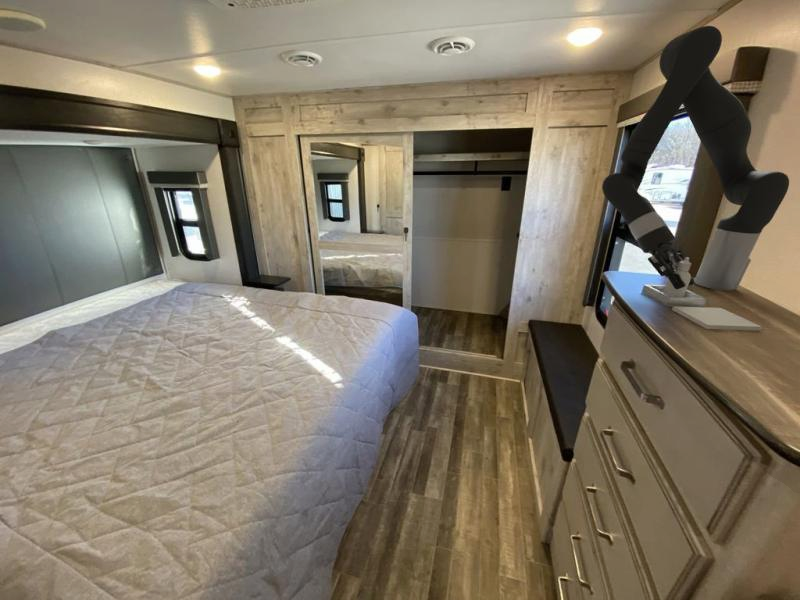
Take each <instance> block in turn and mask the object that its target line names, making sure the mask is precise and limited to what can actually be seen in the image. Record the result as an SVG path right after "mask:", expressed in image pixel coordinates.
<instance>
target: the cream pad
mask: <svg viewBox="0 0 800 600" xmlns="http://www.w3.org/2000/svg"><path fill="white" fill-rule="evenodd" d="M671 310H672V311H673V312H675V313H676V314H679V315H680V316H682V317H684V318H686V319H687V320H689V321H691V322H693V323H694V324H696V325H699V326H700V327H702V328H703V329H706V330H729V331H730V330H731V331H732V330H734V331H755V332H756V331H758V332H759V331H761V329H762V326H761V325H759V324H756V323H754V322H752V321H750V320H748V319H746V318H743V317H741V316H739V315H738V314H735V313H732V312H730V311H728V310H726V309H724V308H722V307H705V306H704V307H676V306H673V307H672V309H671Z"/></svg>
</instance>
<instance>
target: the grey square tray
mask: <svg viewBox="0 0 800 600" xmlns="http://www.w3.org/2000/svg"><path fill="white" fill-rule="evenodd" d="M665 285H666V284H664V285H663V284H643V287H642V289H641V292H642V293H641V294H643V293H644V294H643V295H645V296H647V297H649V298H651V299H653V300H654V301H655V302H658V303H660V304H661V305H663V306H665V307H672V308H673V306H676V307H705V305H706V302H707V301H708V298H706V297H704V296H701V295H700V294H698V293H695V292H693V291H690V290H689V289H687V290H686V292H685V295H684V297H670V296H668V295H666V294H665V293H663V290H664V287H665Z"/></svg>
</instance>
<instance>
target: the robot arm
mask: <svg viewBox="0 0 800 600" xmlns="http://www.w3.org/2000/svg"><path fill="white" fill-rule="evenodd" d="M722 42H723V35H722V32H721V31H720V29H719V28H717V27H716V26H713V25H705V26H700V27H697V28H694V29H692V30H690V31H687V32H685V33H683V34H680V35H678V36H676V37H674V38H673V39H671V40H670V41H669V42H668V43H667V44H666V45H665V46H664V48H663V50H662V51H661V54H660V56H659V65H658V66H659V69H660V72H661V74H662V76H663V78H664V79H665V80H666V81H665V83H664V85H663V87H662V89H661V91H660V93H659V94H658V96H657V98H656V99H655V100H654V102H653V103H652V105H651V107H650V108H649V109H648V110H647V112H646V113H645V114H644V115H643V117H642V118H641V119H640V121H639V122H638V124H636V126H635V128H634V130H633V132H632V134H630V137H629V139H628V142H627V143H626V145H625V147H624V148H623V151H622V153H621V155H620V160H621V162H622V165H621V168H620V171H618V172H614V173H611V174H609V175H608V176H606V177H605V178H604V180H603V181H602V185H601V188H602V189H601V190H602V193H603V195H604V197H605V198H606V200H607V201H608V202H609V203H610V204H611V206H613V207H614V208H615V209H616V210H617V211H618V212H619V213H620V215H621V217H622V218H623V220H624V221H625V223H626V224H627V226H628V228H629V231H630V232H631V234H632V236H633V237H634V240H635V241H636V242H637V244H638V246H639V247H640V249H641V250H642V252H643V253H644V254H650V253H651V256H649V257H647V260H648V261H649V264H650V265H652V267H653V268H654V269H655V271H656V272H657V273H658V274H659V275H660V276H661V277H665V278H667V280H668V279H669V280H670V282H671V283H672V285H673V286H674V288H675V289H680V288H683V287H685V286H686V285H685V283H684V282H683V281H682V279H681V277H680V275H679V274H677V267H678V264H679V262H681V261H684V259H685V258H686V255H685V254H684V252H683V250H682V248H679V249H676V248H674V247H673V246H672V244H671V243H674V242H675V241H676V236H675V235H674V234H673V232H672V231H671V229H670V228H669V226H668V225H667V223H666V222H665V220H664V219H663V218H662V217H661V215H660V214H659V213H658V212H657V210H656V209H655V208H654V205H652V203H651V201H649V199H648V198H647V197H645V196H643V195H641V194H640V193H639V191H638V189H639V187H640V186H641V184H642V182H643V179H644V176H645V174H646V170H647V168H648V163H649V161H650V159H651V158H652V155H653V154H654V152H655V151H656V149H657V147H658V145H659V143H660V142H661V139H662V138H663V136H664V134H665V132H666V131H667V129H668V127H669V125H670V124H671V122H672V121H673V119H674V117H675V116H676V115H677V114H678V111H679V110H680V109H681V106H682V105H683V107H684V110H685V112H686V114H687V116H688V119H689V120H690V122H691V124H692V127H693V128H694V130H695V133H696V134H697V136H698V139H699V140H700V142H701V144H702V146H703V147H704V149H705V151H706V153H707V155H708V157H709V159H710V162H711V163H712V165H713V167H714V169H715V171H716V174H717V177H718V180H719V183H720V187H721V190H722V192H723V195H724V197H725V199H727V201H728V203H729V202H730V203H731V204H733V205H738V206H740V207H739V209H738V210H737V212H736V213H734V214H733V215H731V216H728V217H724V218H721V219H720V220H719V222H718V223H717V226H716V229H715V231H714V233H713V236H712V238H711V241H710V243H709V244H708V247H707V250H706V252H705V254H704V257H703V258H702V261H701V264H700V266H699V269H698V271H697V273H696V276H695V277H694V279H693V277H692V276H691V280H690V282H689V285H688V287H689V286H692V285H695V284H696V285H697V286H701V287H704V288H708V289H712V290H716V291H723V292H724V291H726V292H727V291H728V292H729V291H734V290H737V289H738V288H739V286H740V284H741V282H742V279H743V278H744V276H745V273H746V272H747V269H748V267H749V265H750V264H751V261H752V260H751V258H750V256H751V253H752V252H753V250H754V248H755V245H756V244H757V241H758V239H759V237H760V235H761V233H762V232H763V230H764V228H765V227H766V226H767V225H768V224H770V222H771V221H772V220H773V218H774V216H775V214H776V213H777V211H778V209H779V208H780V205H781V204H782V202H783V200H784V199H785V197H786V195H787V192H788V190H789V187H790V179H789V176H788V175H787V174H785V173H784V172H783V171H782V172H781V171H774V170H773V171H771V170H769V171H768V170H765V171H764V170H757V169H756V168H755V167H754V166H753V164H752V163H751V161H750V158H749V156H748V152H747V151H748V150H747V148H748V145H749V140H750V138H751V135H752V123H751V120H750V117H749V116H748V113H747V110H746V108H745V106H744V105H743V103H742V102H741V100H740V99H739V98H738V97H737V96H736V95H735V94H734V93H732V92H731V91H730V90H729V89H728V88H726V87H725V86H724V85H723V84H721V82H719V80H717V79H716V77H715V76H714V75H713V73H712V71H711V68H710V66H711V64H712V63H713V61H714V60H715V58H716V57H717V55H718V53H719V52H720V49H721V47H722Z"/></svg>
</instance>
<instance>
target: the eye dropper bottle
mask: <svg viewBox="0 0 800 600" xmlns="http://www.w3.org/2000/svg"><path fill="white" fill-rule="evenodd" d="M685 257H686V256H685ZM691 267H692V262H690V257H686V258H685V259H684V261H681V262H679V264H678V267H677V274H679V275H680V277H681V279H682V281H683V282H684V283H685V285H686V286H685V287H683V288H680V289H675V288H674V286H673V285H672V283H671V282H670V280H669V279H668V278H667V280H666V282H665V284H664V285H665V287H664V290H663V293H665V294H666V295H668V296H670V297H684V295H685V292H686V290H688V287H689V286H688V285H689V282H690V280H691V277H692V276H691V274H690V272H689V271H690V268H691Z"/></svg>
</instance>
